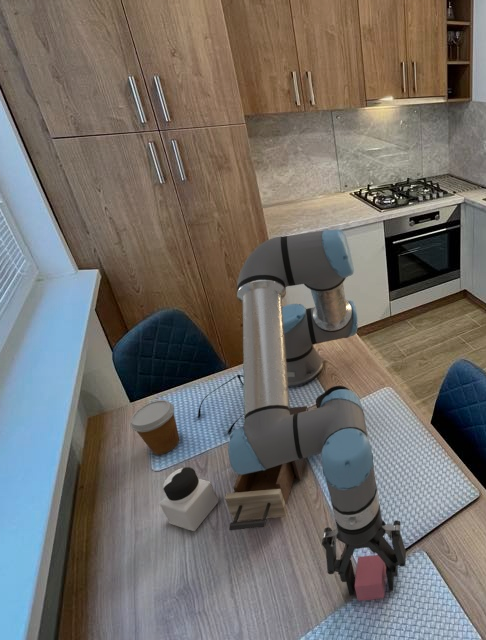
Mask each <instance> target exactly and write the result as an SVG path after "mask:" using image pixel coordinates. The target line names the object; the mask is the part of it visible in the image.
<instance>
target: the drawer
mask: <svg viewBox="0 0 486 640" xmlns="http://www.w3.org/2000/svg"><path fill="white" fill-rule="evenodd" d="M294 475H295V472H294V468H293V465H292V461H291V462H287V463H284V464H281V465H278V466H275V467H272V468H268V469H266V470H264V471H263V470H261V471H257V472H252V473H248V474H243V475H239V474H237V477H236V479H235V482H234V484H233V487H232V490H233V491H234V492H227V493H226V494H225V497H224V500H225V503H226V505H227V508H228V510H229V512H230V515H231V517H232V522H230V523H229V527H228V529H229V530H228V531H238V530H239V531H240V530H250V529H261V528H262V529H263V528H265V527H266V526H267V519H273V518H281V517H287V516H288V507H287V503H288V499H289V497H290V492H291V489H292V485H293V482H294V481H293V479H294Z"/></svg>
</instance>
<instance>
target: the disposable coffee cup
mask: <svg viewBox="0 0 486 640" xmlns="http://www.w3.org/2000/svg"><path fill="white" fill-rule="evenodd" d="M129 425H130V428H131V430H133V431H135V432H136V433H137V434H138V435H139V437H140V438H141V440H142V441H143V442H144V443H145V444H146V445H147V447H148V448H149V450H150V451H151V452H152V453H153V454H154V455H164V454H166V453H169V452H171V451H173V449H175V448H176V447H177V446H178V444H179V443H180V435H179V430H178V426H177V422H176V417H175V406H174V404H173V403H172V402H170V401H169V400H167V399H156V400H153V401H150V402H148V403H145V404H143V405H142V406H140V407H139V408H138V409H136V410H135V411H134V413H132V415H131V418H130V423H129Z"/></svg>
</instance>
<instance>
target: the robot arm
mask: <svg viewBox="0 0 486 640" xmlns="http://www.w3.org/2000/svg"><path fill="white" fill-rule="evenodd" d="M354 272H355V269H354V263H353V258H352V254H351V249H350V247H349V242H348V239H347V236H346V234H345V232H344V231H343V230H342V229H339V228H337V229H324V230H318V231H317V230H316V231H311V232H304V233H298V234H290V235H284V236H281V235H280V236H276V237H271V238H269V239H267V240H265V241H263V242H262V243H260V244H259V245H258V246H256V248H255V249H253V251H252V252H251V253H250V254H249V255H248V256H247V258H246V260H245V262H244V263H243V265H242V267H241V269H240V271H239V274H238V278H237V281H236V298H237V299H238V301H239V302H240V303H242V350H243V351H242V362H243V363H242V364H243V366H242V371H243V372H242V373H243V374H242V375H243V377H242V378H243V384H244V385H243V414H244V415H243V418H244V419H243V420H244V421H243V425H241V426H240V427H239V428H236V429H234V430H233V429H232V431H231V432H230V433H229V437H228V438H229V441H228V445H227V447H228V448H227V451H228V452H227V453H228V460H229V464H230V467H231V469H232V471H233V472H234V473H236V474H237V475H243V474H248V473H252V472H257V471H261V470H263V471H264V470H266V469H268V468H272V467H275V466H278V465H281V464H284V463H287V462H291V461H294V460H298V459H301V458H306V459H307V458H309V457H313V456H317V455H320V457H321V470H322V474H323V477H324V478H325V482H326V486H327V489H328V494H329V498H330V503H331V507H332V511H333V517H334V520H335V525H336V529H332V528H331V527H324V530H323V534H322V540H321V545H322V547H323V548H324V550H325V558H326V559H325V560H326V570H327V574H328V575H334V574H335V573H337V575H339V579H340V582H342V583H346V586H347V590H348V595H349V596H354V594H355V578H356V574H355V571H354V566H353V562H352V559H351V558H352V556H353V555H354V552H355V550H360V549H363V548H364V549H369V550H370V551H371V552H372V553H373V554H375V553H376V555H378V556H379V557H380V558H381V559H382V560H383V562H384V563H385V566H386V582H387V587H388V591H389V592H392V591H394V581H395V579H394V577H398V573H399V568H404V567H405V566H406V561H407V560H406V559H407V555H406V553H407V551H406V546H405V544H404V543H405V542H404V541H403V537H402V533H401V521H400V520H398V519H397V520H394V521H393V523H392V524H386V522H385V520H384V519H383V517H382V510H381V505H380V497H379V491H378V485H377V482H376V474H375V466H374V455H373V450H372V445H371V444H370V439H369V436H368V430H367V425H366V418H365V413H364V408H363V406H362V402H361V399H360V397H359V396H358V394H357V393H356V392H354V391H353V390H350V389H349V390H346V389H340V390H335V391H333V392H331V393H330V394H329V395H327V396H326V397H325V398H324V399H323V400H322V403H321V406H320V408H317V407H315V408H312V409H308V411H304V412H300V413H296V414H293V415H290V407H291V406H290V405H291V404H290V392H289V390H290V389H289V388H297V387H301V386H304V385H307V384H308V383H311V382H313V381H314V380H315V379H316V378H318V376H320V374H321V373H322V371H323V370H324V369H323V368H324V363H323V359H322V357H321V355H320V354H319V352H318V351H317V350H316V348H315V347H314V345H317V344H322V343H327V342H331V341H336V340H342V339H348V338H350V337H354V336H355V335H357V332H358V328H359V326H358V313H357V308H356V304H355V303H354V301H353V300H347V299H346V295H345V287H344V286H345V285H344V282H345V280H346V278H349V277H350V276H353V274H354ZM300 285H304V286H305V287H306V288H307V289H308V290H310V294H311V296H312V299H313V304H314V307H309V308H306V307H305V306H304V305H303V304H301V303H299V304H298V303H290V304H286V305H283V301H282V300H283V299H285V296H286V294H287V287H293V286H294V287H295V286H300ZM385 535H387V537H388V538H389V541H391V544H390V543H389V542H388V540H387V539H386V538H385V537H384V536H385ZM337 540H338V541H340V542H341V543H343V544H344V546H343V550H342V552H341V554H340V558H338V557H337ZM337 558H338V559H337Z"/></svg>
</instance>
